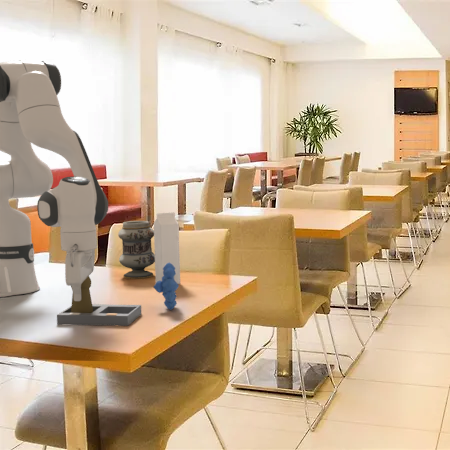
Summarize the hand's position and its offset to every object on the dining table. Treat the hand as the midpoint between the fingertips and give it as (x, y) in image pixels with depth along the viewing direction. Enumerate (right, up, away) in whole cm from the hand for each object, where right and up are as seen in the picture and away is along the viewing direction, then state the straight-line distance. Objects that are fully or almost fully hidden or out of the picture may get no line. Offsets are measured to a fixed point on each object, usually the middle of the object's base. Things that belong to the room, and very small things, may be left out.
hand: (81, 296), depth 189 cm
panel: (+5, -6, 0) cm, 7 cm away
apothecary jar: (+7, +1, +59) cm, 59 cm away
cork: (0, -6, +1) cm, 6 cm away
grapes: (+21, -4, +10) cm, 24 cm away
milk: (+18, 0, +45) cm, 49 cm away
